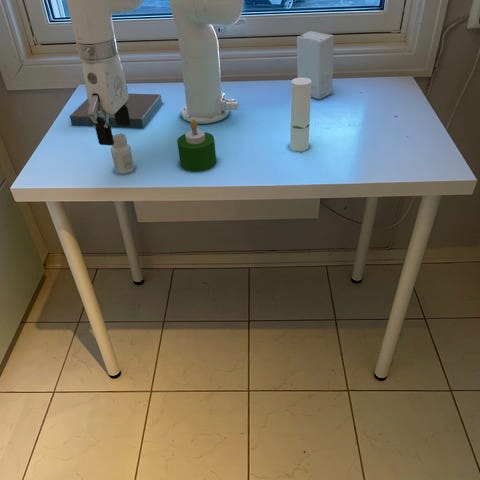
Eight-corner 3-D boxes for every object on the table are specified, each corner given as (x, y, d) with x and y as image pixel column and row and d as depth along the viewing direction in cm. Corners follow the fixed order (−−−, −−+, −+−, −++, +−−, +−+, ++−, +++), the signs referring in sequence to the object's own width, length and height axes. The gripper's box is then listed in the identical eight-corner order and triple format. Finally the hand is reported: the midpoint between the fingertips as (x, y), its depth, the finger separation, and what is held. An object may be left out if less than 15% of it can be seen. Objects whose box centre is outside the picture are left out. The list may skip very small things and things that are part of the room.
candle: (180, 155, 122) (174, 113, 115) (215, 152, 123) (211, 110, 116) (180, 172, 116) (173, 129, 109) (216, 169, 117) (213, 126, 110)
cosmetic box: (332, 93, 144) (336, 34, 133) (318, 100, 141) (321, 41, 130) (309, 86, 148) (311, 29, 138) (295, 93, 145) (296, 34, 135)
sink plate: (162, 103, 145) (160, 94, 143) (143, 128, 134) (141, 119, 132) (95, 101, 149) (93, 92, 147) (71, 125, 138) (69, 116, 136)
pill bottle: (136, 164, 120) (130, 132, 115) (132, 174, 117) (125, 141, 112) (118, 164, 121) (110, 132, 115) (113, 174, 118) (105, 141, 112)
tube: (287, 145, 123) (287, 79, 113) (303, 141, 124) (305, 76, 114) (295, 152, 120) (297, 86, 110) (311, 148, 122) (315, 82, 111)
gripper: (97, 64, 94) (116, 153, 106) (131, 36, 106) (145, 119, 118) (59, 63, 95) (82, 151, 107) (97, 35, 108) (114, 117, 119)
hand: (115, 134), depth 113 cm, fingers open, 9 cm apart
